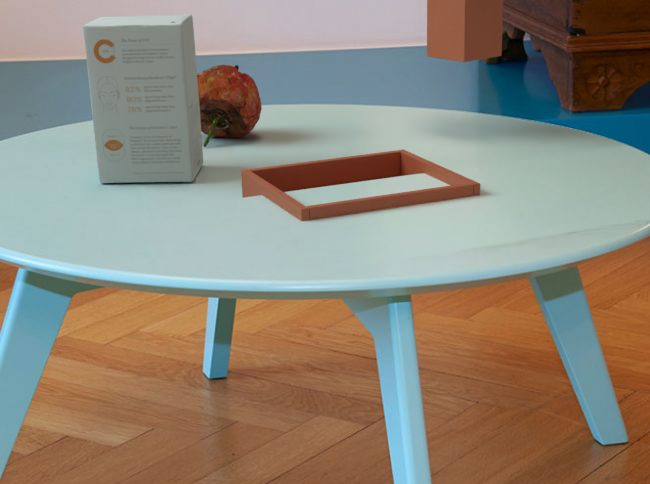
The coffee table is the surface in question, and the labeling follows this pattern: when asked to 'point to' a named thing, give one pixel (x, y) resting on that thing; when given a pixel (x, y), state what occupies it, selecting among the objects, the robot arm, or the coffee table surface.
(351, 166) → the terracotta frame
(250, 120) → the red round fruit
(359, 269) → the coffee table surface
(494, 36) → the terracotta block
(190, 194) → the coffee table surface
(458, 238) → the coffee table surface
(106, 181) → the small box
